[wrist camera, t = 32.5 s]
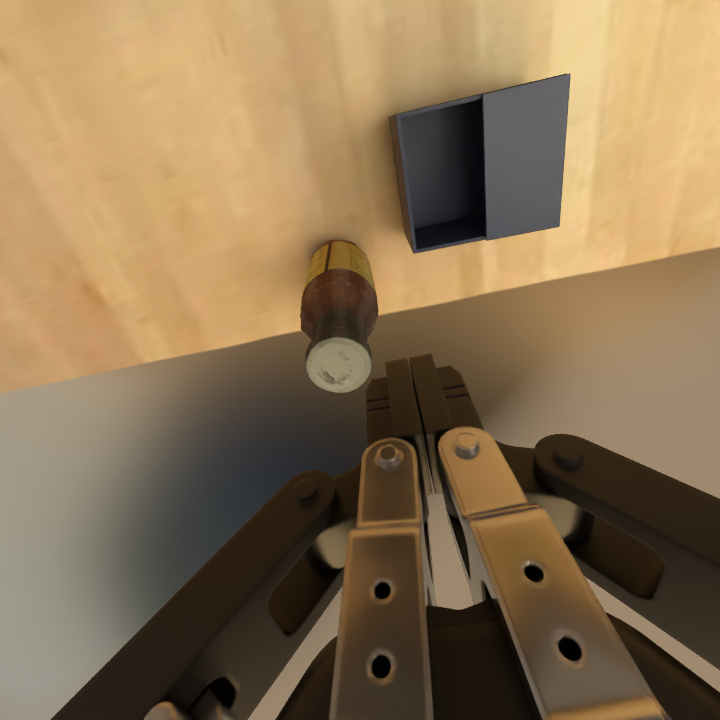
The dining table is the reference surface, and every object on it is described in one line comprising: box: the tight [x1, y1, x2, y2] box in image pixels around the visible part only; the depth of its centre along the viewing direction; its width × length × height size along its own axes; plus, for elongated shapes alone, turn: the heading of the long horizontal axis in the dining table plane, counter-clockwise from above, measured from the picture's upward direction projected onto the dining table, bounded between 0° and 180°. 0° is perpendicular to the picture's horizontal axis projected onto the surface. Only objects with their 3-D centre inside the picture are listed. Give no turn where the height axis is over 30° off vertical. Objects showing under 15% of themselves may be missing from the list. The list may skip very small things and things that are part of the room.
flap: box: [482, 74, 570, 240], centre depth 28 cm, size 10×6×1 cm, turn 11°
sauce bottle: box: [300, 241, 378, 393], centre depth 31 cm, size 6×6×20 cm
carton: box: [389, 74, 566, 254], centre depth 32 cm, size 10×12×7 cm
